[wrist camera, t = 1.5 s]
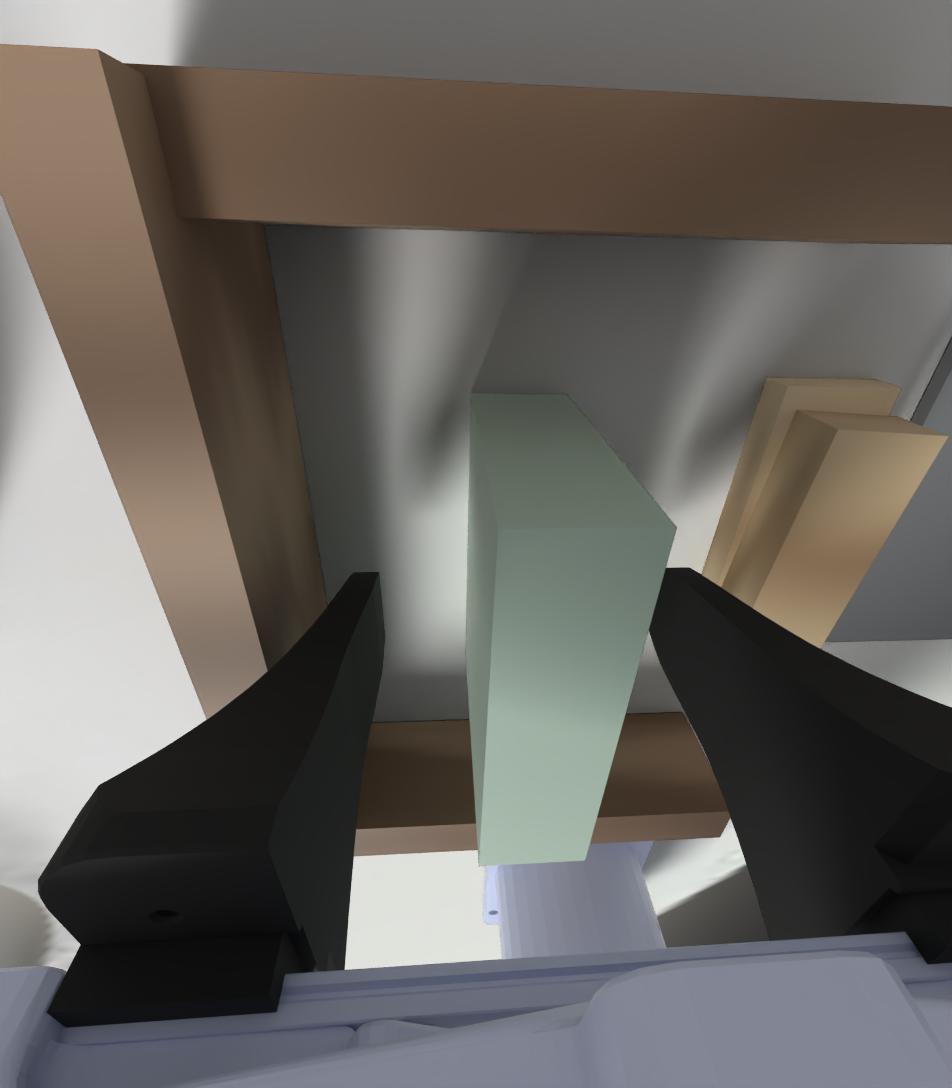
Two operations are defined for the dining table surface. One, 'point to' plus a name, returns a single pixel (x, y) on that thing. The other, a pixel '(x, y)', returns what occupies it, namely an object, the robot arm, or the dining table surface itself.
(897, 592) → the mat
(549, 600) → the board
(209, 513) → the frame
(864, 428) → the offcut upper
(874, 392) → the offcut lower
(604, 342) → the dining table surface
